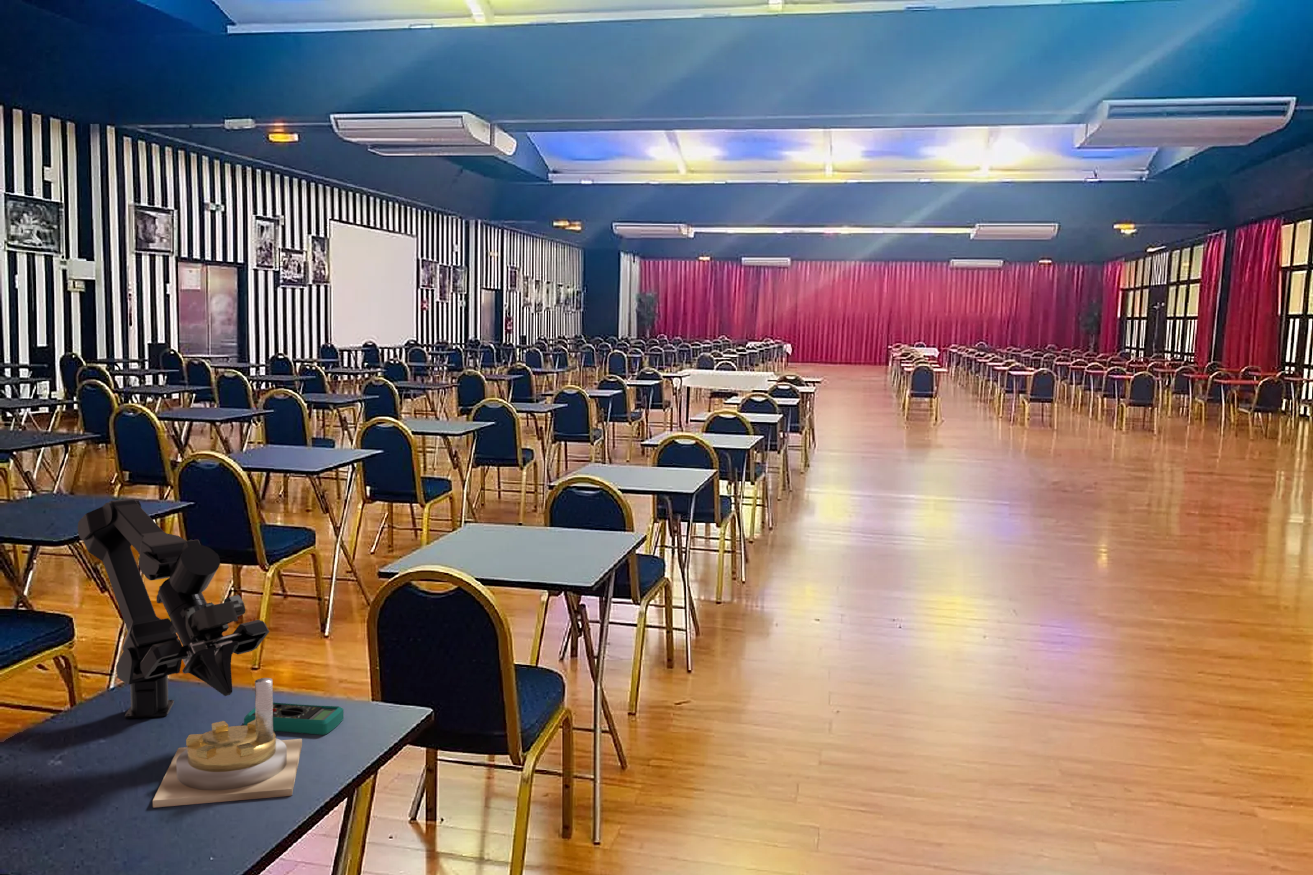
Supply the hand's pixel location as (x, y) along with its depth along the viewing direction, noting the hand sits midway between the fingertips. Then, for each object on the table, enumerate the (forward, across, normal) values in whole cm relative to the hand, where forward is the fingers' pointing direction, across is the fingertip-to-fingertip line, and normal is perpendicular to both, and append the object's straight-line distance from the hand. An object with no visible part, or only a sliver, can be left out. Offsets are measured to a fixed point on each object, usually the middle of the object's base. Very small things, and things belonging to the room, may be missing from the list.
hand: (229, 694), depth 157 cm
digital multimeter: (+6, +13, +9) cm, 17 cm away
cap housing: (+12, -4, +2) cm, 12 cm away
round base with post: (+9, -4, 0) cm, 10 cm away
